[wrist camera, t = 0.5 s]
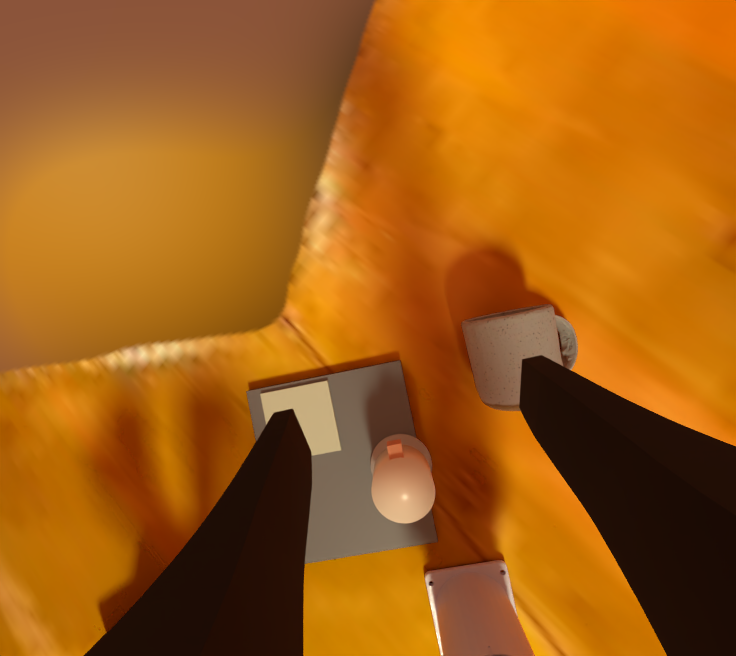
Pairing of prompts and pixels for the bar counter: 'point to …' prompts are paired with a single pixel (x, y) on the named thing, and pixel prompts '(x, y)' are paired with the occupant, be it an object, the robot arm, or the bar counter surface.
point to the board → (348, 455)
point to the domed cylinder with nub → (402, 483)
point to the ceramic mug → (514, 349)
